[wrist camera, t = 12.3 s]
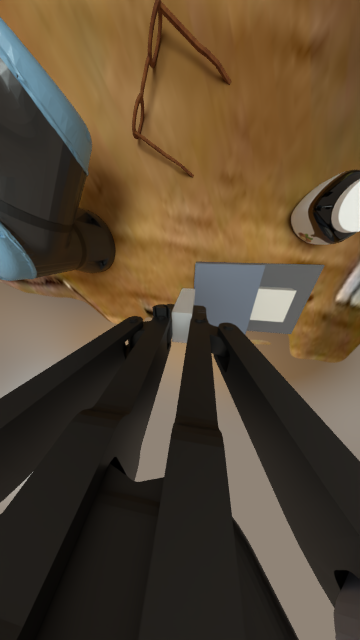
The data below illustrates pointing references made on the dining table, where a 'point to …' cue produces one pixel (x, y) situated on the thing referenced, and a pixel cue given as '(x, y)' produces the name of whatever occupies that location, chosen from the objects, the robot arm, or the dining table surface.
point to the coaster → (272, 303)
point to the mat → (287, 277)
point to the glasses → (180, 27)
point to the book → (227, 291)
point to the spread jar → (329, 210)
